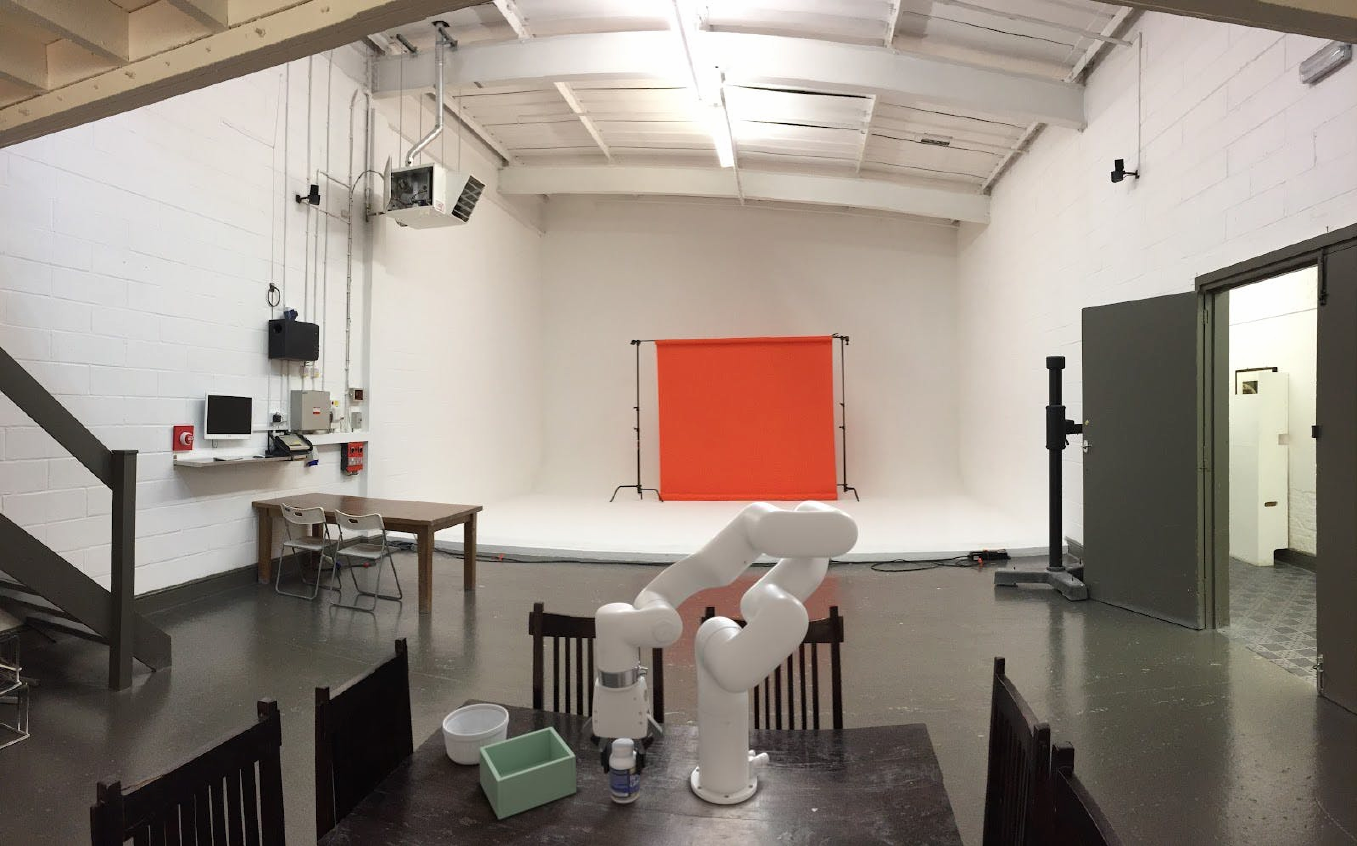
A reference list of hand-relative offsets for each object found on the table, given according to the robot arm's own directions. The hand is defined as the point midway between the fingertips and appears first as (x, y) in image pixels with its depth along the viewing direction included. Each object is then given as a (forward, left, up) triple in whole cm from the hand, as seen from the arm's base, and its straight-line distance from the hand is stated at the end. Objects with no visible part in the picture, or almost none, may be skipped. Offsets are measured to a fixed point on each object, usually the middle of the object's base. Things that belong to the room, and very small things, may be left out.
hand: (624, 768), depth 119 cm
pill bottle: (0, 0, -5) cm, 5 cm away
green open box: (+14, -13, -6) cm, 20 cm away
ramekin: (+19, -31, -6) cm, 37 cm away
